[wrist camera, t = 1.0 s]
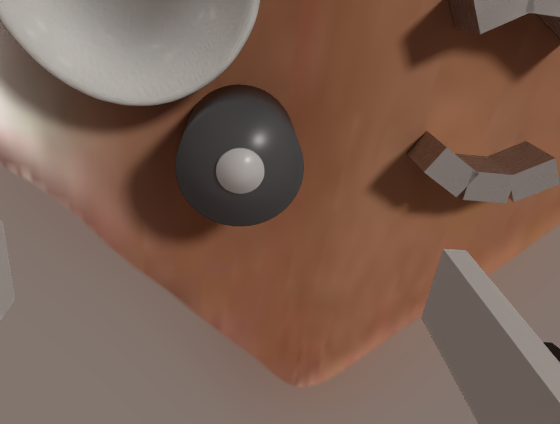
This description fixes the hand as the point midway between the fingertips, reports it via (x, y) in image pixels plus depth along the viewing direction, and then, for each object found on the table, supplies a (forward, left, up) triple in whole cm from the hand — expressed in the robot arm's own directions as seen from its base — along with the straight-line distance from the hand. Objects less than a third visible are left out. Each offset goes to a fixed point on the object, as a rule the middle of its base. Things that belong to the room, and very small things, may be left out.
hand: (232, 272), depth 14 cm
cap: (+1, 0, -15) cm, 15 cm away
